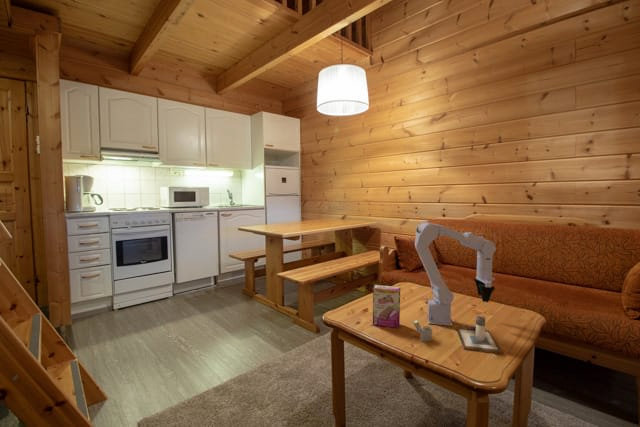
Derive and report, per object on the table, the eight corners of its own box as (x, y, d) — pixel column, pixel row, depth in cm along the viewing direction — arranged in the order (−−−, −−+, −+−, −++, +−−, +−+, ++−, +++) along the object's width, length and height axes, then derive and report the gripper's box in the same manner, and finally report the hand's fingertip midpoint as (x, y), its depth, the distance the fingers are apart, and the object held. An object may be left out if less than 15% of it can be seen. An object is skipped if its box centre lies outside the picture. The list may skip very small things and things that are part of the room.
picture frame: (463, 349, 107) (464, 343, 107) (456, 329, 123) (456, 324, 122) (501, 353, 104) (501, 348, 104) (488, 332, 119) (488, 327, 119)
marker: (476, 341, 110) (477, 319, 109) (474, 337, 113) (475, 316, 112) (485, 342, 109) (486, 320, 109) (483, 338, 112) (484, 316, 111)
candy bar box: (372, 325, 126) (372, 288, 125) (373, 320, 131) (373, 284, 130) (399, 328, 123) (400, 290, 122) (399, 323, 128) (400, 286, 127)
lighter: (429, 338, 115) (430, 318, 115) (432, 340, 114) (432, 320, 113) (412, 340, 114) (412, 319, 113) (414, 342, 112) (415, 321, 112)
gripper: (500, 272, 119) (498, 305, 120) (490, 263, 133) (489, 293, 134) (480, 271, 121) (479, 304, 122) (472, 262, 135) (471, 292, 136)
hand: (483, 298), depth 128 cm, fingers open, 7 cm apart
